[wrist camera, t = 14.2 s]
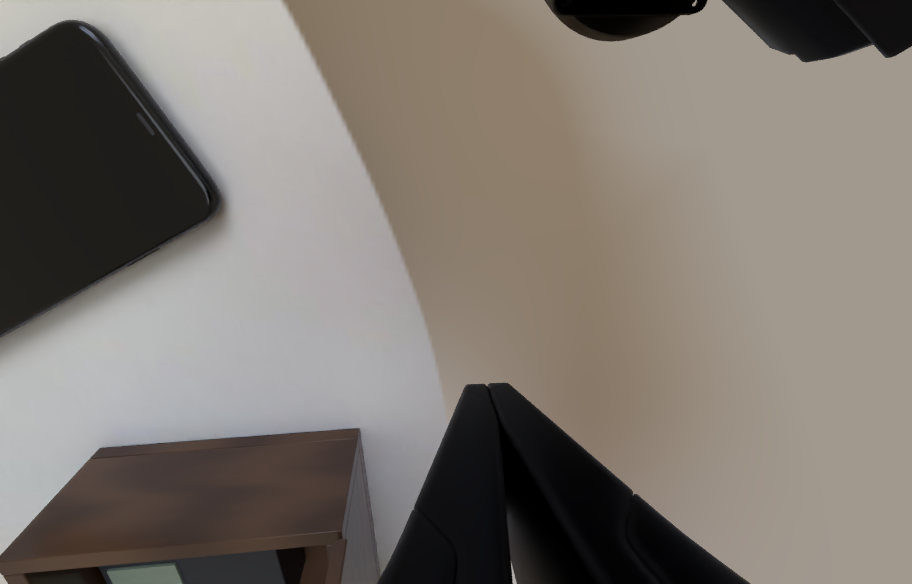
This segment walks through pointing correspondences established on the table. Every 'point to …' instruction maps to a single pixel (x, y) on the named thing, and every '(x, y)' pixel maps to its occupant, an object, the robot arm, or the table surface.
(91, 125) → the smartphone
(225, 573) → the black lcd device
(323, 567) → the case
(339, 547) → the case lid
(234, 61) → the table surface
